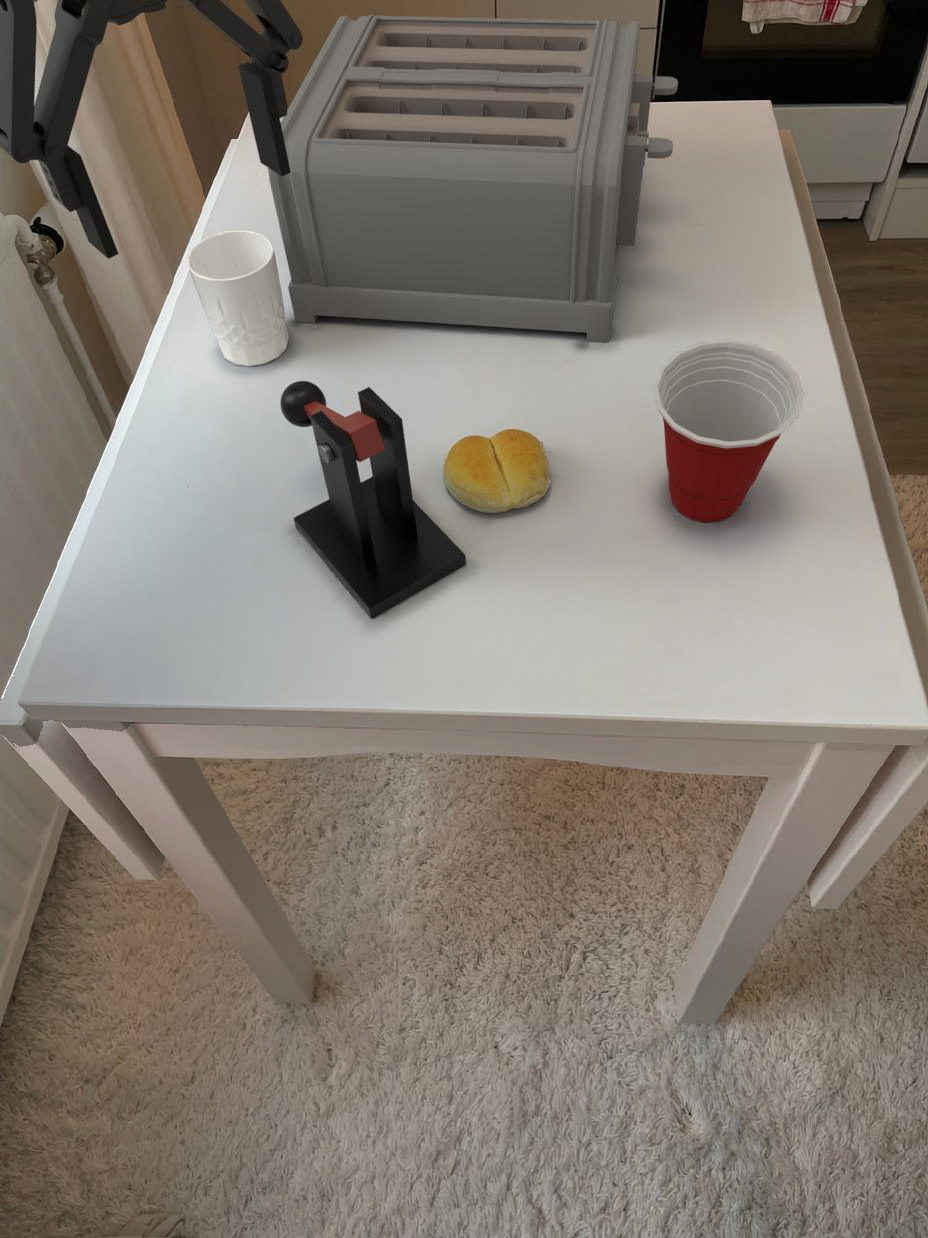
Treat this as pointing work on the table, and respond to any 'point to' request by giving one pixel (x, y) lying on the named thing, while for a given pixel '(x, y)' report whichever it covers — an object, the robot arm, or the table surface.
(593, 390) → the table surface
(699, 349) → the plastic cup
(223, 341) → the white cup
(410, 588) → the bracket
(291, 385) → the lever
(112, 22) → the robot arm
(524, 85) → the toaster
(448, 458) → the bread roll
